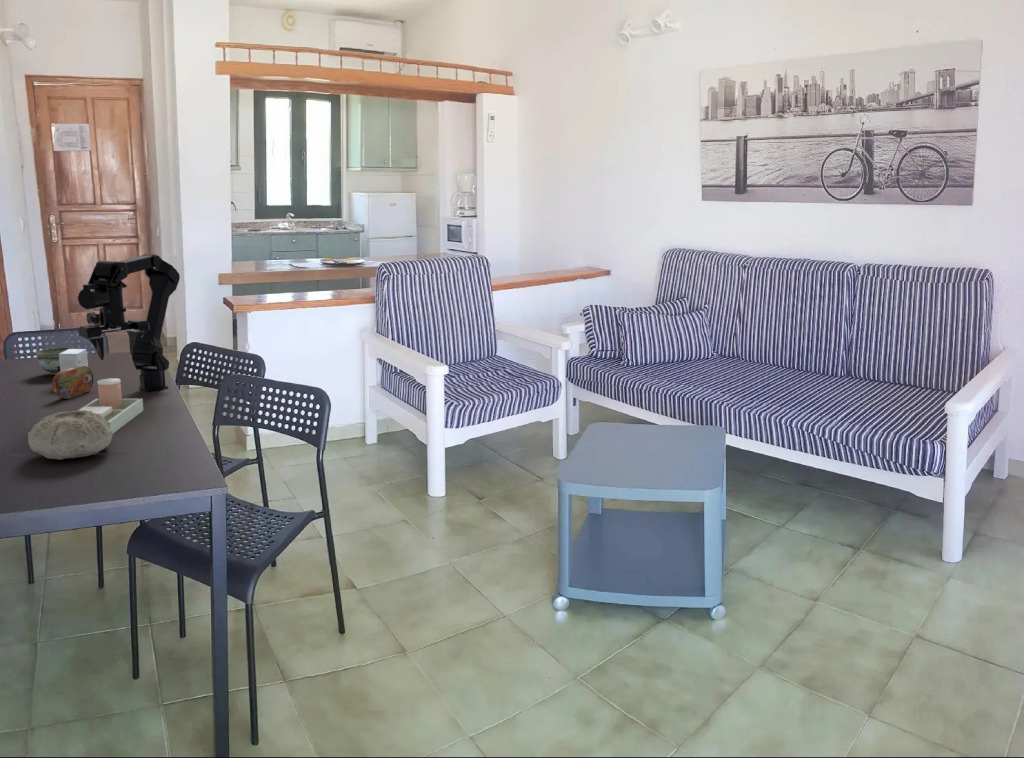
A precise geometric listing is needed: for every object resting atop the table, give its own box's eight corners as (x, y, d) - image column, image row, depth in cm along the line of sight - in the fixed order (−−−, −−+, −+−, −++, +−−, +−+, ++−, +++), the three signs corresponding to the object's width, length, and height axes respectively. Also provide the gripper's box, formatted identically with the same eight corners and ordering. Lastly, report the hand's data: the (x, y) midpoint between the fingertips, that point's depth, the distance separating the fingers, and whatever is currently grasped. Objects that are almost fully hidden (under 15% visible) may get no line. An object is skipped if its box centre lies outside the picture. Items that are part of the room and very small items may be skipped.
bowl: (70, 379, 274) (67, 355, 272) (29, 378, 274) (26, 354, 273) (91, 370, 288) (89, 347, 286) (52, 369, 288) (49, 346, 286)
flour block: (86, 424, 222) (84, 406, 221) (114, 424, 223) (112, 406, 222) (74, 432, 215) (73, 413, 214) (103, 432, 216) (101, 413, 215)
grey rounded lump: (116, 460, 196) (112, 419, 194) (29, 471, 188) (24, 428, 186) (112, 440, 212) (108, 401, 210) (31, 449, 204) (26, 409, 201)
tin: (61, 401, 247) (58, 374, 245) (51, 401, 248) (48, 373, 246) (95, 390, 261) (93, 363, 259) (86, 389, 262) (84, 363, 260)
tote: (97, 412, 236) (96, 398, 235) (143, 412, 237) (142, 398, 236) (59, 438, 212) (57, 422, 212) (110, 437, 214) (109, 422, 213)
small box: (72, 380, 273) (68, 348, 271) (90, 380, 274) (86, 348, 271) (61, 386, 265) (57, 353, 263) (79, 386, 266) (76, 353, 263)
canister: (109, 412, 234) (105, 377, 231) (127, 414, 233) (124, 378, 231) (96, 418, 228) (92, 382, 226) (115, 419, 227) (112, 383, 225)
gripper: (128, 298, 255) (132, 349, 259) (66, 305, 241) (71, 358, 244) (148, 302, 249) (152, 354, 252) (85, 309, 234) (91, 363, 238)
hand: (117, 357), depth 247 cm, fingers open, 9 cm apart
